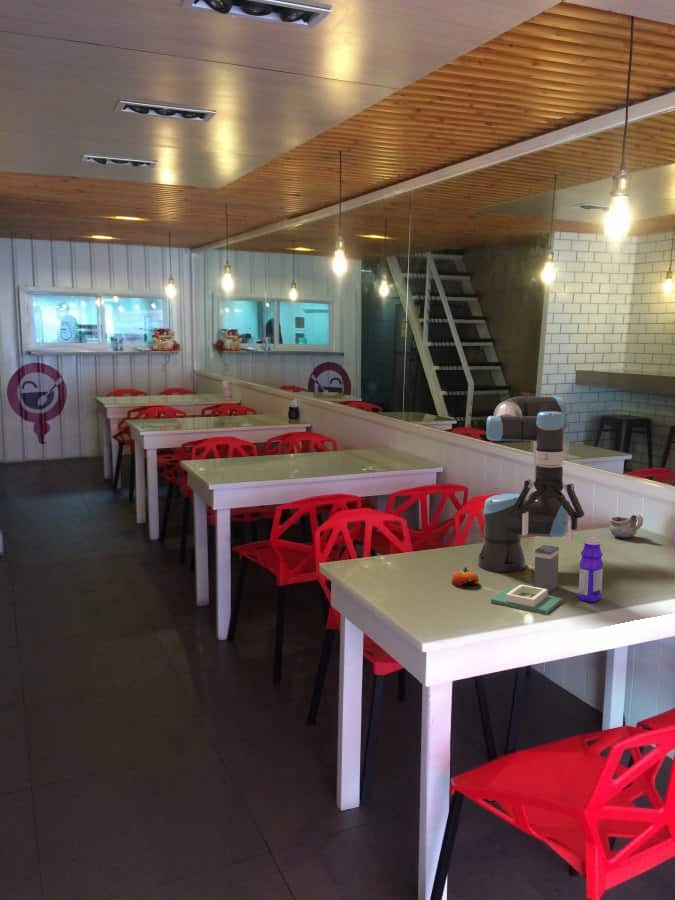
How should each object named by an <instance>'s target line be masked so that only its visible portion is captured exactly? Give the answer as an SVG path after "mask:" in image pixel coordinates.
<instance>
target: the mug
mask: <svg viewBox="0 0 675 900" xmlns="http://www.w3.org/2000/svg"><path fill="white" fill-rule="evenodd" d="M643 523H644V517H643V516H642V515H641V514H639V513H633V514H632V515H630V516H629V517H628V516H627V517H626V516H612V517H610V525H609V526H610V527H609V531H610V533H611V534H612V535H613V536H614V537H617V538H621V539H630V538H632V537H634V536H635V535H636V534H637V530H639V529H640V528H642V526H643V525H644V524H643Z"/></svg>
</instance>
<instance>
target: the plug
mask: <svg viewBox="0 0 675 900" xmlns="http://www.w3.org/2000/svg"><path fill="white" fill-rule="evenodd" d="M559 554H560V548H559V546H554V545H550V544H549V545H548V544H543V545H541V546H540V547H538V548H536V549H535V550H534V581H533V582H534V583H533V587H538V588H543V589H548V593H550V592H552V591H554V590H555V589H556V588H558V583H559V582H558V581H559Z"/></svg>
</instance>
